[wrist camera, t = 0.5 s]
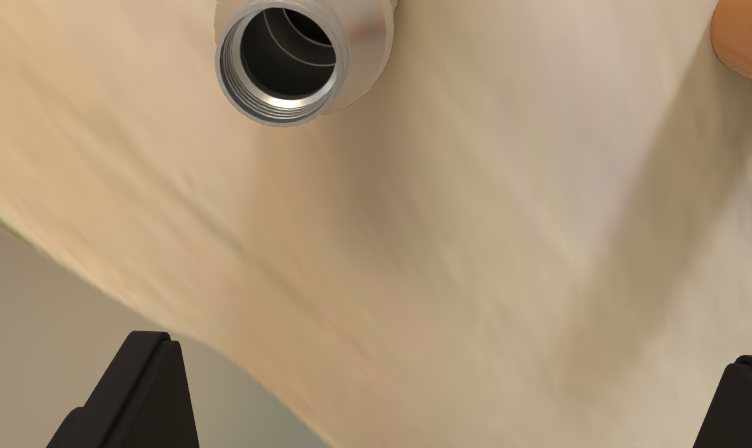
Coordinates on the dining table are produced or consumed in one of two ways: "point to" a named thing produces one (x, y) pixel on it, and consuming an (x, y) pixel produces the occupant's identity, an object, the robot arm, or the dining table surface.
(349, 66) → the plastic bottle
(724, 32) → the honey jar
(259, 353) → the dining table surface
